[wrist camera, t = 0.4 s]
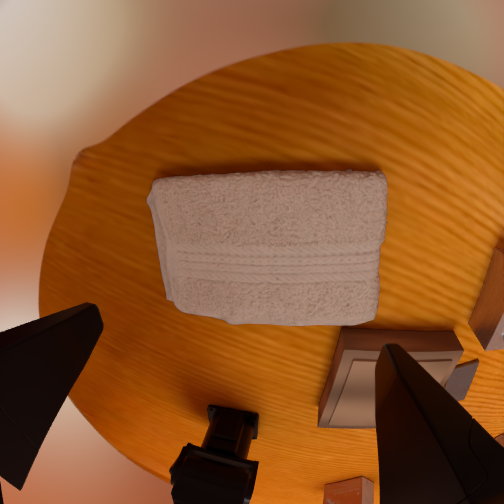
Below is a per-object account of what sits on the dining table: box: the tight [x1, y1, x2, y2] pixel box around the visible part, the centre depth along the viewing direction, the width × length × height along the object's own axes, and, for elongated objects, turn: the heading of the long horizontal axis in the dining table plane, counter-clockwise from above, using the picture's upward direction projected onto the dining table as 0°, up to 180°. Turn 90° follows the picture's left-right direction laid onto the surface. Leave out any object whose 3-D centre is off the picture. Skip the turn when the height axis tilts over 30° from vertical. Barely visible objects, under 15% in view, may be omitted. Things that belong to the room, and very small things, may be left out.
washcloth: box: [147, 169, 387, 326], centre depth 21 cm, size 12×18×3 cm, turn 95°
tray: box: [318, 327, 464, 429], centre depth 23 cm, size 12×12×3 cm
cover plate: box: [444, 359, 479, 401], centre depth 23 cm, size 7×4×1 cm, turn 13°
